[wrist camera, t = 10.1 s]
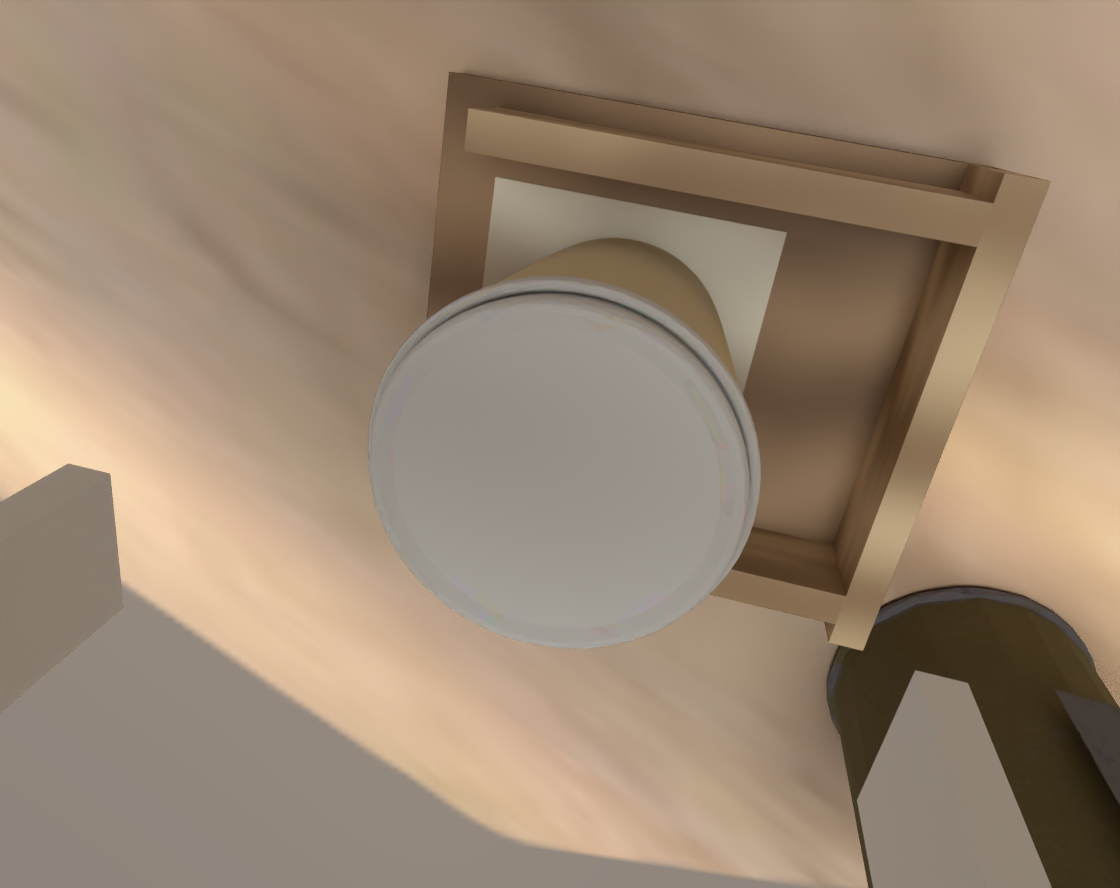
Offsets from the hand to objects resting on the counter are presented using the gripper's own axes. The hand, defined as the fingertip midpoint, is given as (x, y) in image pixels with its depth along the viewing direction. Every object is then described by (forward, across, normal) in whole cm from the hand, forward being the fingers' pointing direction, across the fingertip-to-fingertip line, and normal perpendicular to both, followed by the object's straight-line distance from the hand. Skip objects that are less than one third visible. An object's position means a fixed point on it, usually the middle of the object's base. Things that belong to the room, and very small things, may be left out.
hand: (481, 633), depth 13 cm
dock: (+19, +2, 0) cm, 19 cm away
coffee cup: (+18, 0, 0) cm, 18 cm away
